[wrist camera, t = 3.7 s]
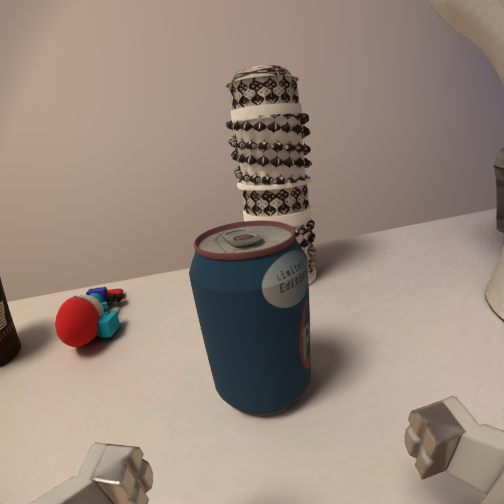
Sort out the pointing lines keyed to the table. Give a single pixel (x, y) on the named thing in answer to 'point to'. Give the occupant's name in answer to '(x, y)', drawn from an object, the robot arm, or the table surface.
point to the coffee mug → (7, 332)
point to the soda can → (254, 313)
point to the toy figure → (88, 317)
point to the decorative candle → (272, 151)
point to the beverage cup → (500, 188)
